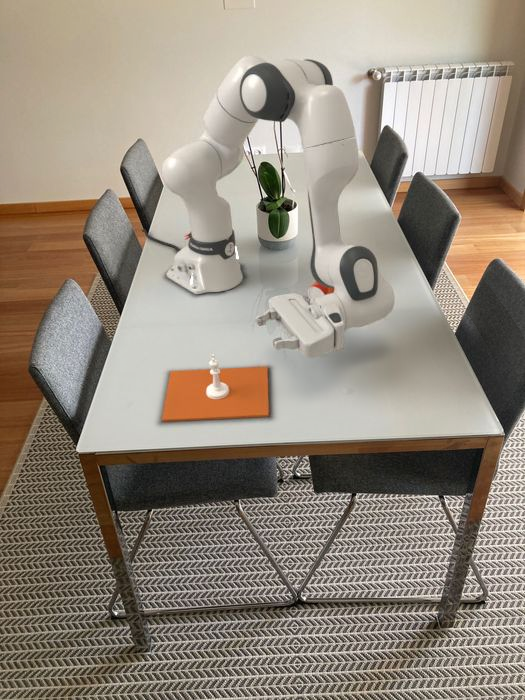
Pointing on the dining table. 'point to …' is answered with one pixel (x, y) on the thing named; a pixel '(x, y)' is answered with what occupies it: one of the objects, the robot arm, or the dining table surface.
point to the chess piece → (216, 382)
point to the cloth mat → (194, 404)
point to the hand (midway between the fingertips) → (265, 332)
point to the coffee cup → (318, 290)
